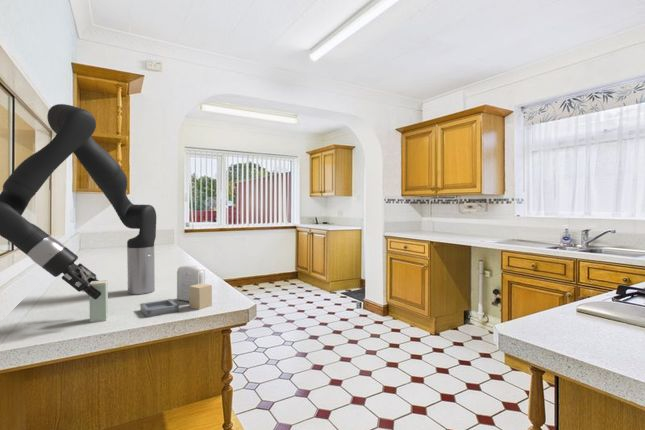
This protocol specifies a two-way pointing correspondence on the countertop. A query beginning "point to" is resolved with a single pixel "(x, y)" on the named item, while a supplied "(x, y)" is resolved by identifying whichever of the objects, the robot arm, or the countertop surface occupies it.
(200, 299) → the kraft box
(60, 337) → the countertop surface
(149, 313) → the slate tray
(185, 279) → the photo printer
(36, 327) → the countertop surface
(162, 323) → the countertop surface
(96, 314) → the tea tin
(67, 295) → the countertop surface
